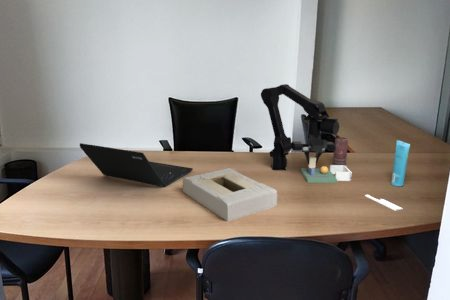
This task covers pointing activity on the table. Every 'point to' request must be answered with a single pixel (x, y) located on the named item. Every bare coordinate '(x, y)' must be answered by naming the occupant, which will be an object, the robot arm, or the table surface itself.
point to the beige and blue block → (312, 165)
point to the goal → (341, 172)
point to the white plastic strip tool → (385, 203)
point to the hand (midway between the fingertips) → (311, 164)
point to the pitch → (318, 176)
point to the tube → (400, 163)
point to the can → (340, 151)
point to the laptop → (132, 165)
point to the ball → (323, 169)
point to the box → (230, 193)
